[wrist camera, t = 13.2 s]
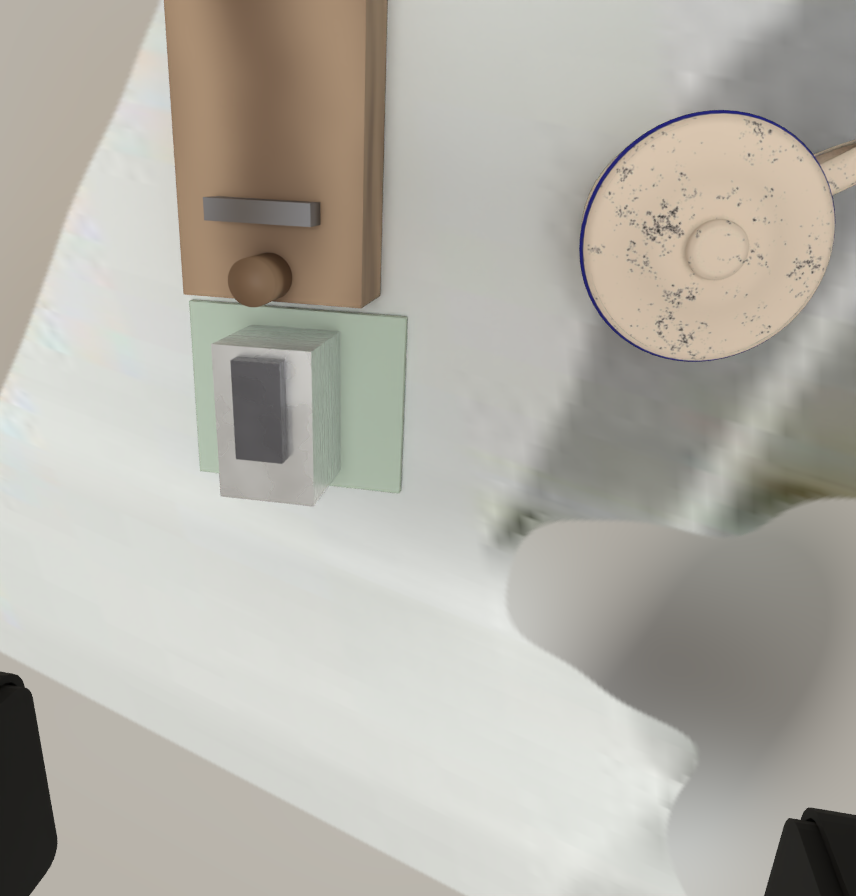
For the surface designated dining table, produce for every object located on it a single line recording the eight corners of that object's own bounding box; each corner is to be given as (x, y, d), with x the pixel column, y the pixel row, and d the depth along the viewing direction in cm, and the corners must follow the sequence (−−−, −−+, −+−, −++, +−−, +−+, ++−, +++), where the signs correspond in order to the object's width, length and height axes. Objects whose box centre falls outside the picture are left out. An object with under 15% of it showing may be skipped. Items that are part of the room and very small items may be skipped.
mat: (407, 316, 40) (405, 318, 39) (401, 490, 43) (399, 493, 43) (193, 299, 41) (189, 301, 41) (203, 467, 45) (200, 471, 44)
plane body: (390, -116, 33) (348, -186, 27) (380, 295, 39) (344, 319, 33) (198, -116, 34) (113, -183, 28) (218, 283, 41) (152, 304, 34)
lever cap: (340, 331, 40) (305, 355, 34) (340, 470, 43) (308, 513, 37) (250, 324, 41) (203, 347, 35) (257, 461, 43) (214, 502, 38)
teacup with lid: (618, 351, 38) (639, 421, 28) (546, 182, 36) (539, 186, 25) (865, 245, 35) (1000, 278, 24) (801, 51, 33) (919, -8, 22)
